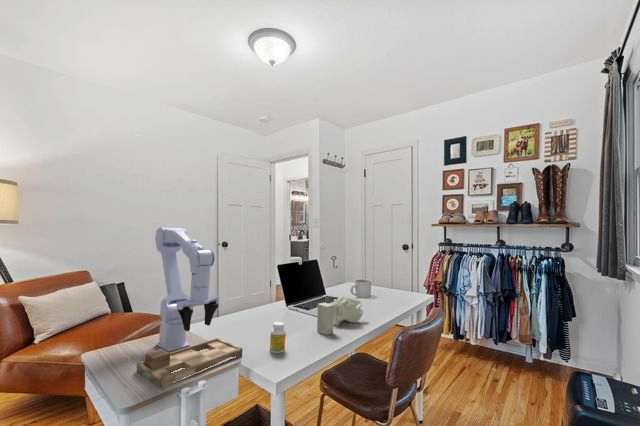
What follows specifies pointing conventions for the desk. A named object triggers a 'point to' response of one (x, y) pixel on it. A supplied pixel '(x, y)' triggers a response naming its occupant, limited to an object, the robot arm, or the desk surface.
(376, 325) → the desk surface
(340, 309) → the wavy plaster lump
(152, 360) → the walnut block
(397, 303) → the desk surface
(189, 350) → the tray
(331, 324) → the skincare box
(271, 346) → the supplement bottle
